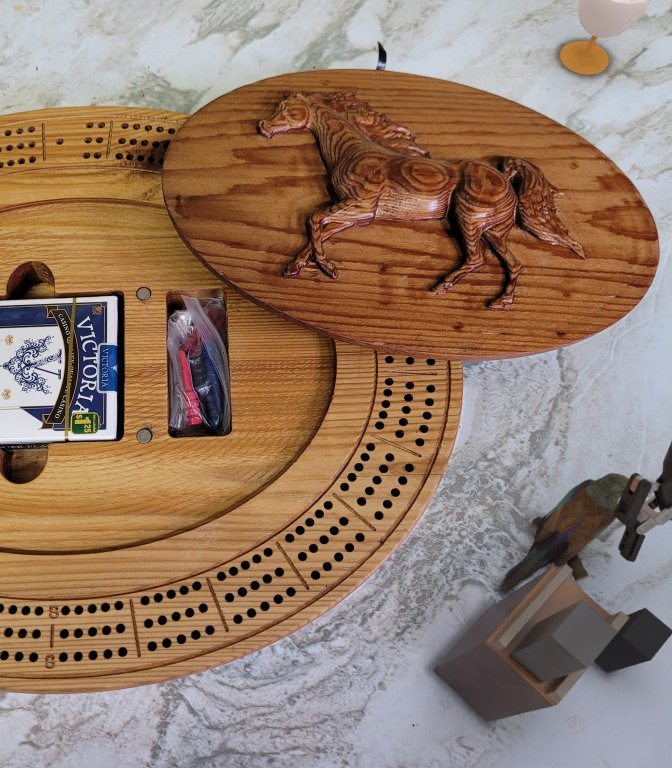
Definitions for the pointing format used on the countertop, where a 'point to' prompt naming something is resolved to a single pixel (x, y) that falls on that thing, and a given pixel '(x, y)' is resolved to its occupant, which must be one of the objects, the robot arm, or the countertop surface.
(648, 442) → the countertop surface
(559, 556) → the bird figurine
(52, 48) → the countertop surface
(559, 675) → the pad mount
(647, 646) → the back pad
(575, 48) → the cup
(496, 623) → the pedestal
